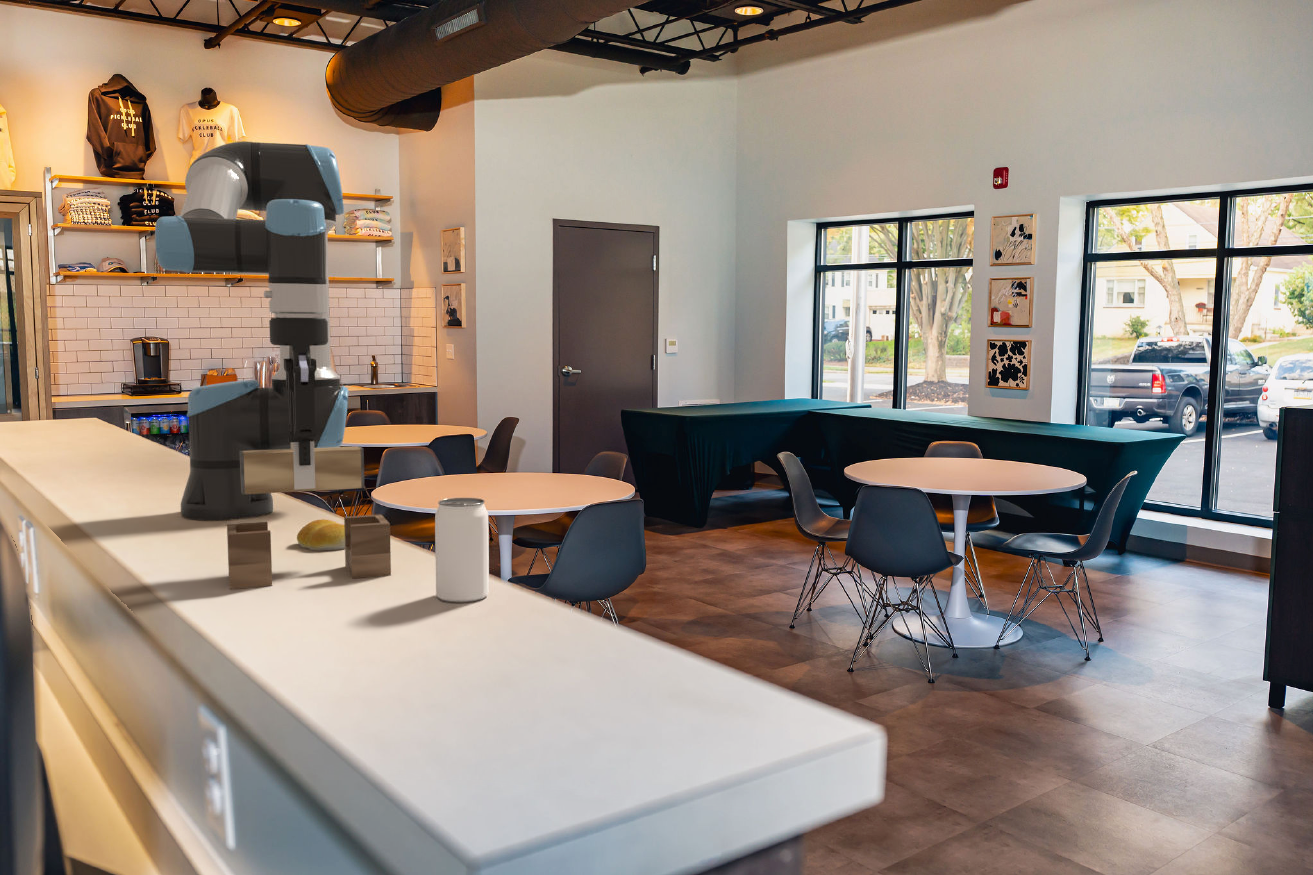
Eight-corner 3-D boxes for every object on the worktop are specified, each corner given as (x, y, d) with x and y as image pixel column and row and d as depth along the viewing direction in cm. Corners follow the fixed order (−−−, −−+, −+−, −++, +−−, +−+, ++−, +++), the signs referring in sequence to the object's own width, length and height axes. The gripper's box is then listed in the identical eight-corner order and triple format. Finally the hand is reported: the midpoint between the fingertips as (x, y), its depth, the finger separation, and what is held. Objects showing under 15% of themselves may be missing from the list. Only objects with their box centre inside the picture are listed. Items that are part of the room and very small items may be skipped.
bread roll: (322, 555, 150) (322, 528, 150) (289, 546, 156) (288, 520, 155) (370, 546, 157) (369, 520, 156) (336, 538, 162) (335, 513, 162)
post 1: (228, 576, 136) (226, 524, 136) (268, 572, 138) (267, 521, 138) (230, 589, 130) (228, 534, 129) (272, 585, 132) (270, 531, 131)
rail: (240, 490, 140) (239, 450, 140) (361, 484, 147) (360, 446, 146) (241, 494, 137) (240, 454, 137) (364, 487, 144) (363, 449, 143)
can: (477, 605, 123) (476, 506, 122) (427, 601, 125) (425, 504, 123) (496, 591, 130) (495, 498, 128) (448, 588, 131) (447, 496, 130)
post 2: (391, 574, 138) (389, 523, 137) (352, 578, 136) (351, 526, 135) (382, 563, 144) (381, 514, 144) (345, 566, 142) (344, 516, 142)
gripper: (265, 315, 145) (271, 478, 148) (273, 316, 130) (278, 497, 133) (320, 315, 148) (325, 475, 151) (334, 317, 133) (338, 494, 136)
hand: (303, 485), depth 142 cm, fingers closed on rail, 3 cm apart
